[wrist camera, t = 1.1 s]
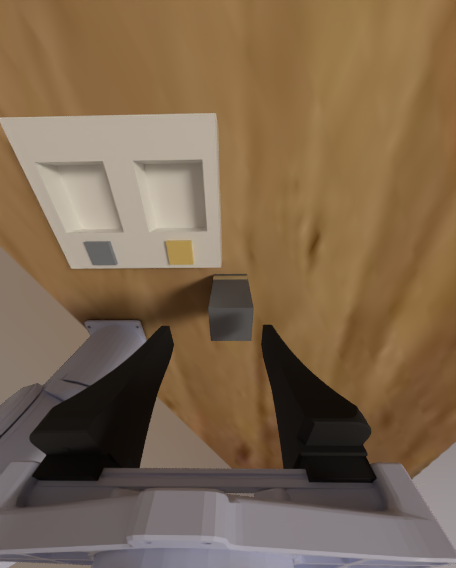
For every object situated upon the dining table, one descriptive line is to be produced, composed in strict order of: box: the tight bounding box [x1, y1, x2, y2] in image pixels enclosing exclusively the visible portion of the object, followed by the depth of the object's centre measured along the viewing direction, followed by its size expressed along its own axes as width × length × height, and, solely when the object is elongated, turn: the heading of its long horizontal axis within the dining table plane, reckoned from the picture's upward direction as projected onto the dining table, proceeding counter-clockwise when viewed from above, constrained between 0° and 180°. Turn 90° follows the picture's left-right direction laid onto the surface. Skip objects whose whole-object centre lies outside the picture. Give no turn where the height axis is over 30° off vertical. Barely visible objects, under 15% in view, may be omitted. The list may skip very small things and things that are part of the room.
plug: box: [208, 274, 254, 341], centre depth 19 cm, size 4×4×7 cm
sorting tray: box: [0, 113, 222, 269], centre depth 16 cm, size 12×16×3 cm
